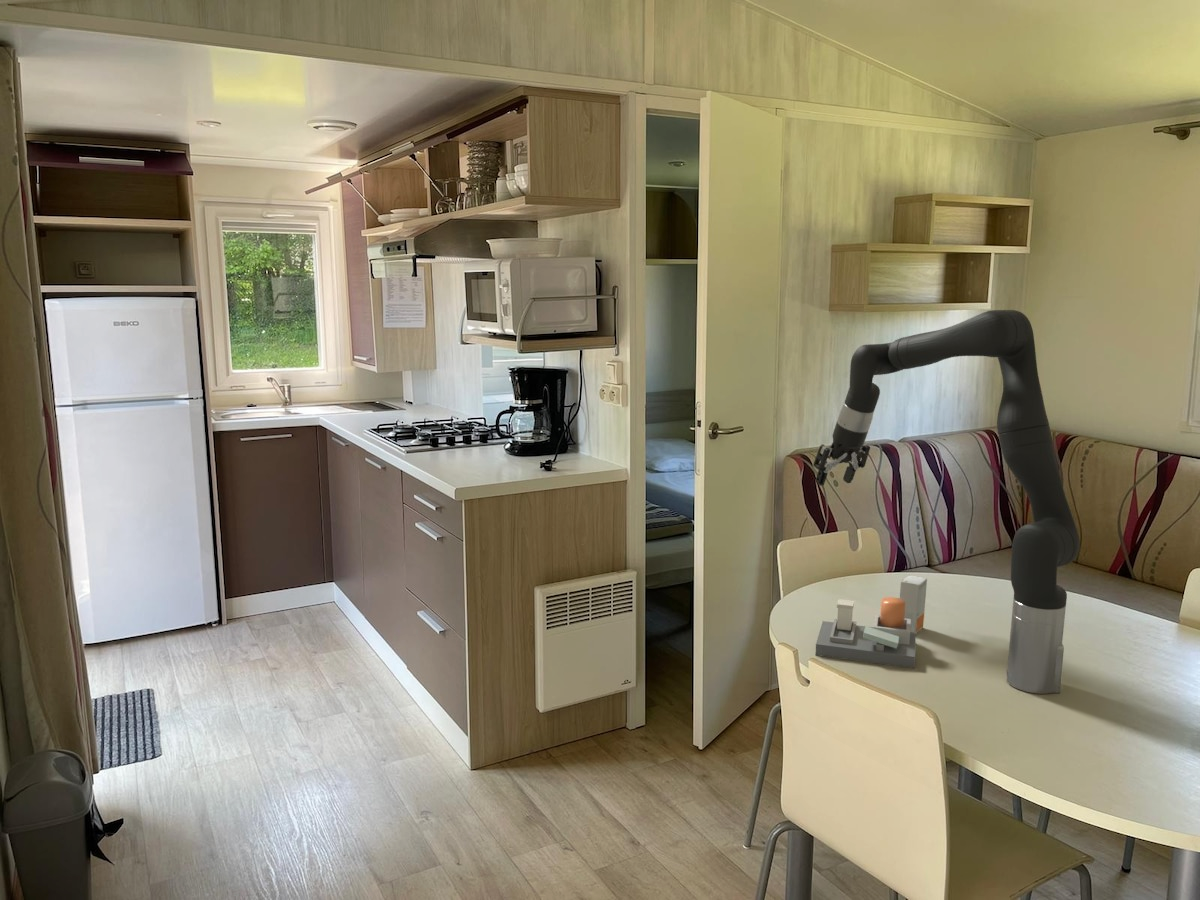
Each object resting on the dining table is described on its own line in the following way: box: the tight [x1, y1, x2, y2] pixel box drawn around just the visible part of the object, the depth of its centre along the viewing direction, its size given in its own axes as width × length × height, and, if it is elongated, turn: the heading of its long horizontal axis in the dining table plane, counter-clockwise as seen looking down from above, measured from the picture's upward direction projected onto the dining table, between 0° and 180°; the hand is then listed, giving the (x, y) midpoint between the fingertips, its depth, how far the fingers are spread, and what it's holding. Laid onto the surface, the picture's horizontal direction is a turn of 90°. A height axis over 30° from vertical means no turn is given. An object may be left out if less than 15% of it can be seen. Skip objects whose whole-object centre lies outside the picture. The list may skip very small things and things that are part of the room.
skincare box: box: [899, 575, 928, 634], centre depth 204 cm, size 6×4×12 cm
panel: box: [815, 614, 917, 669], centre depth 194 cm, size 20×14×6 cm
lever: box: [836, 598, 855, 631], centre depth 198 cm, size 3×3×6 cm
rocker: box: [863, 625, 899, 649], centre depth 189 cm, size 7×4×1 cm, turn 71°
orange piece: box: [880, 596, 906, 627], centre depth 194 cm, size 5×5×5 cm
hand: (833, 482), depth 218 cm, fingers open, 8 cm apart
